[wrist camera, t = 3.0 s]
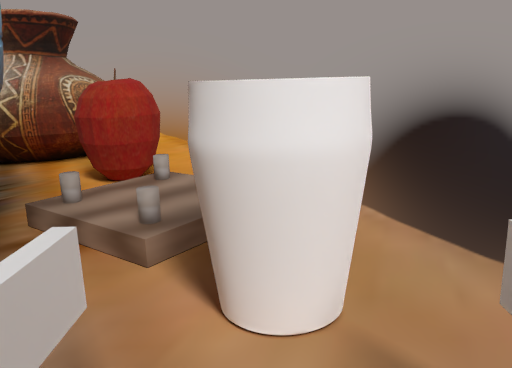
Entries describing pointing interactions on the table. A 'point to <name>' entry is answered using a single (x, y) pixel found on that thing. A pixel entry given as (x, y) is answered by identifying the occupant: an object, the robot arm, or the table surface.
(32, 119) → the jug
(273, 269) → the cup
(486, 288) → the table surface
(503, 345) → the table surface
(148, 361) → the table surface
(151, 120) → the apple
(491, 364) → the table surface
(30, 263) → the robot arm
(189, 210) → the peg stand
